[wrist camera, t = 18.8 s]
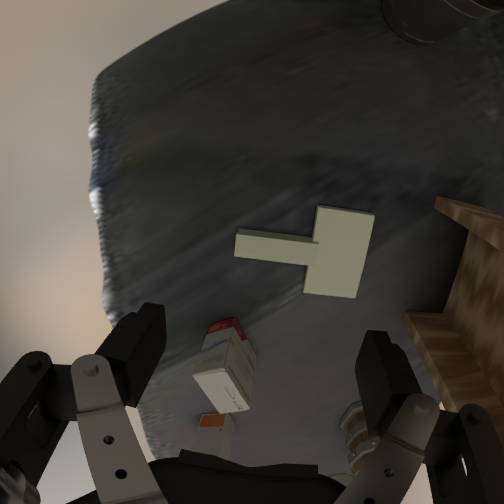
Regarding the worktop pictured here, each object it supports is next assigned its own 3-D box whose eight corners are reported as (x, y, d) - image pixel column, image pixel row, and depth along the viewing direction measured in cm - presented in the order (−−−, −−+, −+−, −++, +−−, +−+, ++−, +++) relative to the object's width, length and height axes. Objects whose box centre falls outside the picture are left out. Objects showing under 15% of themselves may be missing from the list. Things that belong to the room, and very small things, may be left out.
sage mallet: (241, 195, 40) (239, 199, 38) (371, 213, 40) (376, 218, 37) (234, 278, 45) (231, 286, 43) (353, 293, 44) (356, 301, 42)
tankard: (359, 391, 51) (373, 456, 37) (413, 398, 51) (433, 456, 37) (317, 448, 59) (319, 504, 45) (366, 452, 59) (374, 504, 45)
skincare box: (228, 411, 56) (218, 460, 44) (235, 423, 57) (227, 471, 46) (200, 413, 57) (187, 460, 46) (208, 425, 58) (196, 471, 47)
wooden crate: (436, 195, 38) (616, 314, 8) (482, 206, 37) (643, 313, 7) (401, 320, 45) (478, 498, 15) (446, 322, 44) (533, 475, 15)
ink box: (208, 324, 48) (189, 374, 37) (236, 316, 47) (223, 367, 36) (231, 363, 51) (219, 416, 40) (258, 357, 50) (251, 410, 39)
